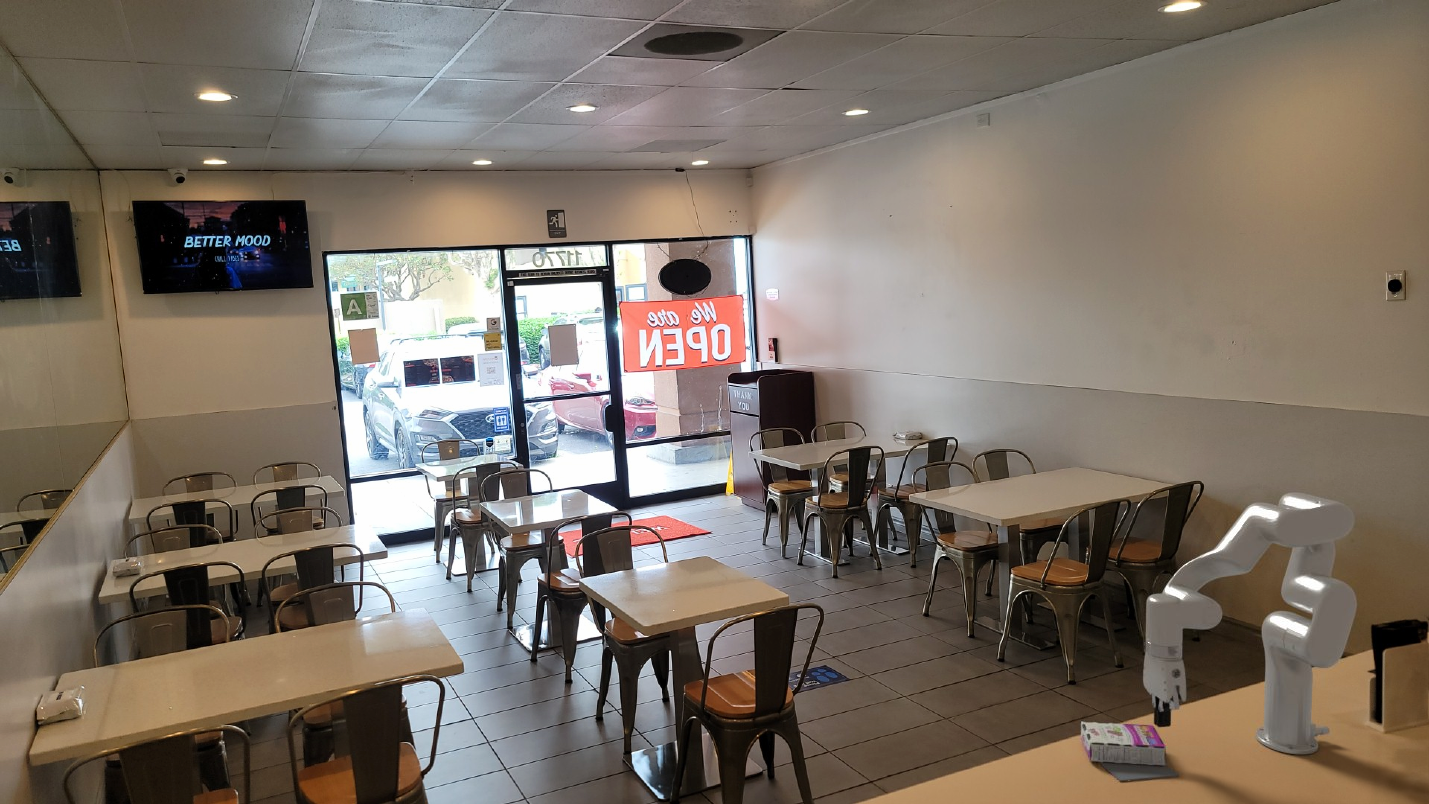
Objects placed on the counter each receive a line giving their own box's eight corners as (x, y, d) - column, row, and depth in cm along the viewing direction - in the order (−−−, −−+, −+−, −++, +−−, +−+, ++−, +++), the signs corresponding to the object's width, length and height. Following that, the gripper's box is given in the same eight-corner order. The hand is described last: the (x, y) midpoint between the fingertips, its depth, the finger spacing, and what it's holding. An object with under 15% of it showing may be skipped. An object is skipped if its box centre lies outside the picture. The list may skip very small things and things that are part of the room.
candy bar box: (1153, 744, 218) (1080, 739, 221) (1153, 724, 217) (1080, 719, 221) (1165, 768, 207) (1089, 762, 211) (1166, 747, 207) (1089, 741, 210)
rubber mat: (1142, 746, 218) (1142, 745, 218) (1178, 776, 204) (1178, 774, 204) (1087, 751, 216) (1087, 750, 216) (1119, 781, 202) (1119, 780, 202)
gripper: (1199, 659, 202) (1197, 739, 204) (1159, 636, 217) (1158, 710, 219) (1168, 662, 202) (1166, 741, 203) (1129, 638, 216) (1128, 712, 218)
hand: (1162, 725), depth 211 cm, fingers closed
